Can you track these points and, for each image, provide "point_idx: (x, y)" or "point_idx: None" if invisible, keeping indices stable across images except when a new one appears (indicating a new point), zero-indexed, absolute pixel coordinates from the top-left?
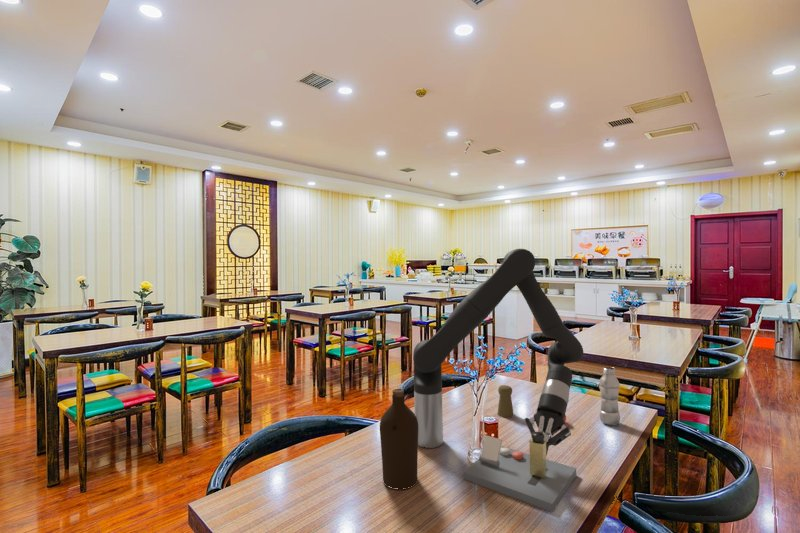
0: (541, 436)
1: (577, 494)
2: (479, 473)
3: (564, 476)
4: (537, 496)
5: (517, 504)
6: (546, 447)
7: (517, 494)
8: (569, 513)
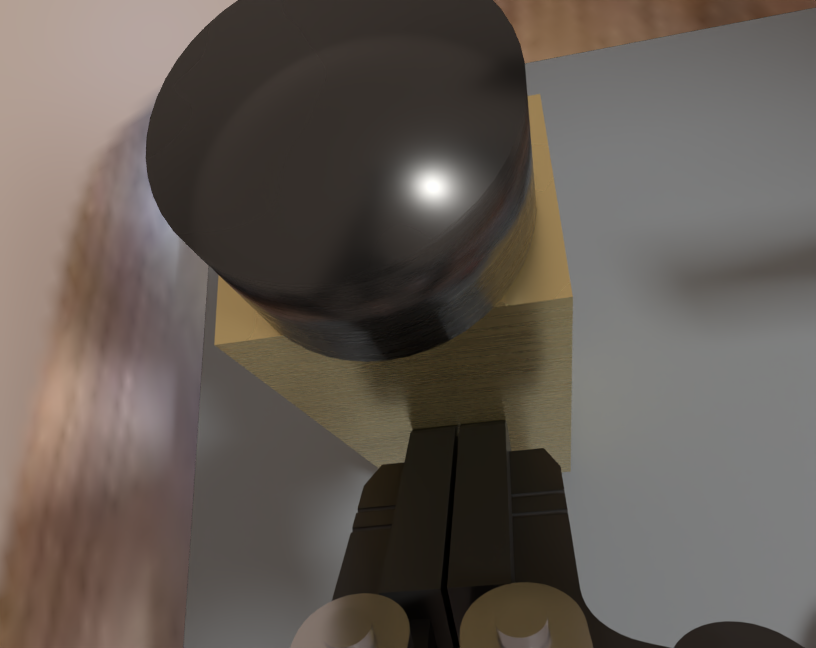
0: (188, 65)
1: (138, 512)
2: None
3: (238, 617)
4: None
5: None
6: (348, 562)
7: None
8: (149, 230)
